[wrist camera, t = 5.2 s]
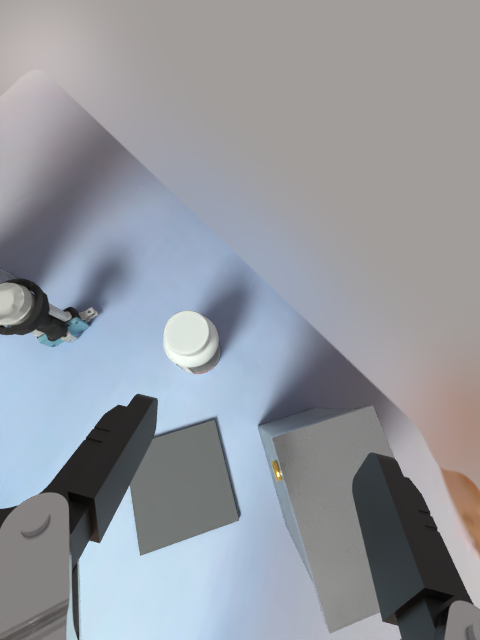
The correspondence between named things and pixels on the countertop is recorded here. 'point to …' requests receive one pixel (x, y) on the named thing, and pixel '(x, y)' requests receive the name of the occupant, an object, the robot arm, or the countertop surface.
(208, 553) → the countertop surface
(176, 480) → the pad
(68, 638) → the robot arm
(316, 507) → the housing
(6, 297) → the push button
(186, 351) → the pill bottle
